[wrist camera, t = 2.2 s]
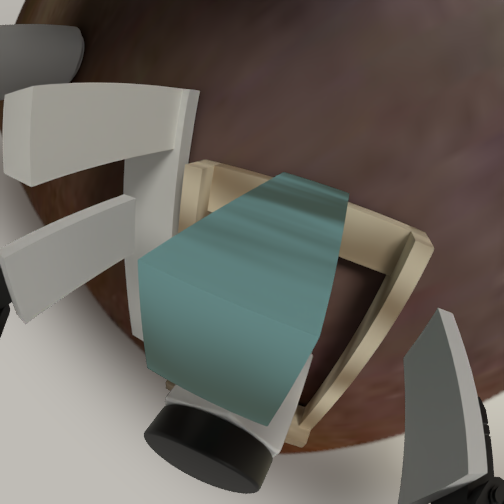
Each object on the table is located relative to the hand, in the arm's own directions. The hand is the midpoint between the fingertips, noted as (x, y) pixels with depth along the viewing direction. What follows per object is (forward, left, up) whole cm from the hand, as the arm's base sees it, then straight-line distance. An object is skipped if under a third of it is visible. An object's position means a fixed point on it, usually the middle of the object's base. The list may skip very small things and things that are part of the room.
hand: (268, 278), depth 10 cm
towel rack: (+9, 0, -8) cm, 12 cm away
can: (-10, -26, -8) cm, 29 cm away
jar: (+13, 0, -8) cm, 15 cm away
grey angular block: (+6, -11, -8) cm, 15 cm away
